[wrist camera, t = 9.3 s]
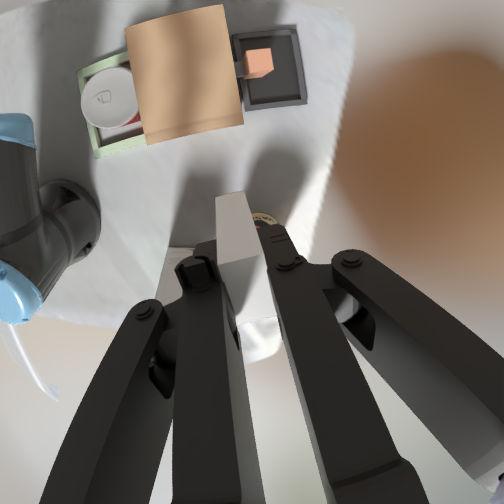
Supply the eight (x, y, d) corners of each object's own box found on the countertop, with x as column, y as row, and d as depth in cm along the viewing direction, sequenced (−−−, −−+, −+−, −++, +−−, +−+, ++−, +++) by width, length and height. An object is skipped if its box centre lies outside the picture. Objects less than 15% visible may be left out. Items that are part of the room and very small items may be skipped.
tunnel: (170, 131, 39) (146, 145, 27) (154, 49, 32) (124, 28, 20) (237, 117, 39) (244, 124, 27) (222, 33, 33) (222, 4, 20)
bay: (98, 157, 40) (95, 159, 38) (79, 71, 32) (76, 71, 31) (168, 136, 40) (167, 137, 39) (150, 45, 32) (148, 43, 31)
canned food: (105, 87, 34) (72, 86, 25) (153, 64, 34) (131, 54, 24) (121, 130, 38) (92, 141, 29) (169, 109, 38) (151, 112, 28)
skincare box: (168, 245, 48) (150, 304, 35) (206, 247, 49) (201, 306, 36) (170, 286, 52) (157, 348, 39) (206, 287, 53) (202, 351, 40)
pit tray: (245, 111, 39) (245, 111, 38) (232, 36, 33) (232, 34, 32) (305, 104, 39) (307, 104, 38) (293, 30, 33) (295, 29, 32)
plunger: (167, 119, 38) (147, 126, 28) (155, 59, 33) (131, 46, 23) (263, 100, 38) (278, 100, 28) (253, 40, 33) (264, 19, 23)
